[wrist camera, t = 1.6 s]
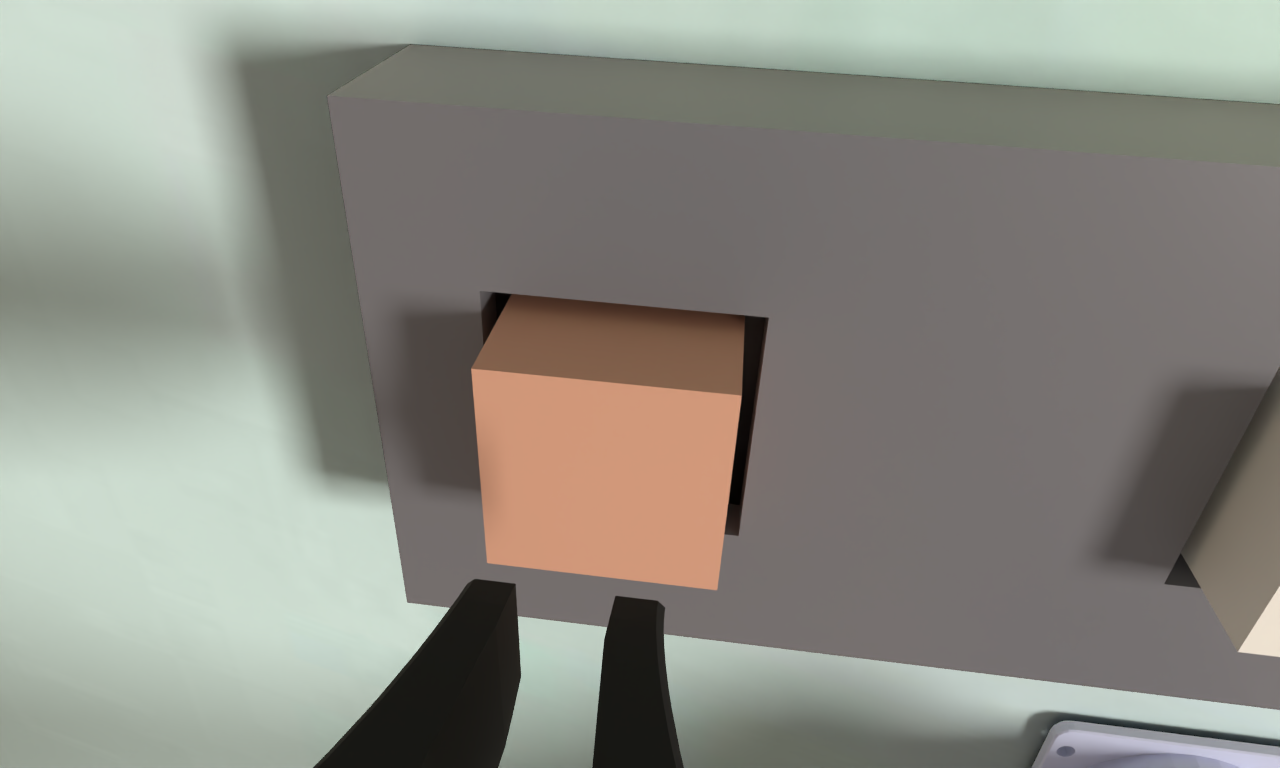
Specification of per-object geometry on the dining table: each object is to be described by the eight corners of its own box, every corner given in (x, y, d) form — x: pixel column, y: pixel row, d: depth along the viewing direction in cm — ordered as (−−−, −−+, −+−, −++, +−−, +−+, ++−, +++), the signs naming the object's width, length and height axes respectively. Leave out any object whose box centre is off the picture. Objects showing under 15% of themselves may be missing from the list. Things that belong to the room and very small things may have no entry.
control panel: (1363, 596, 22) (1469, 733, 19) (457, 494, 24) (407, 602, 21) (1697, 133, 15) (1953, 217, 12) (410, 44, 17) (326, 95, 14)
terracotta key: (723, 489, 19) (716, 590, 16) (523, 467, 19) (487, 563, 17) (744, 308, 16) (741, 395, 14) (514, 287, 17) (471, 368, 14)
